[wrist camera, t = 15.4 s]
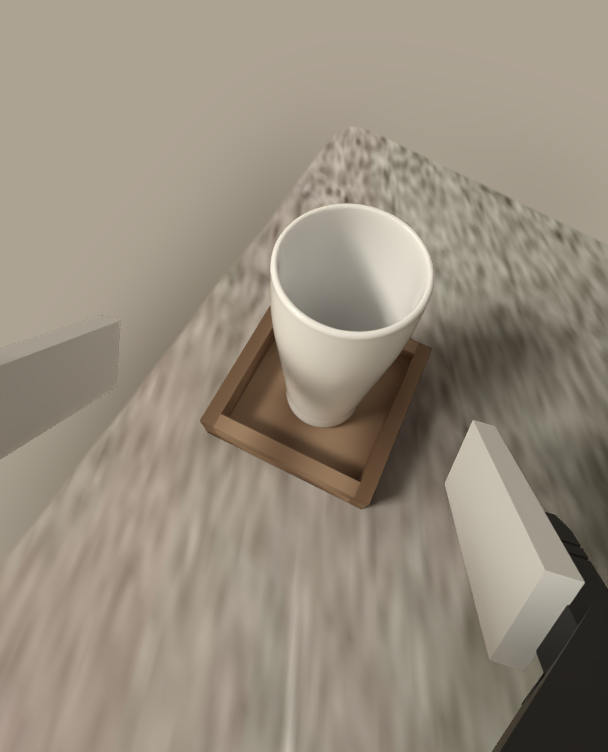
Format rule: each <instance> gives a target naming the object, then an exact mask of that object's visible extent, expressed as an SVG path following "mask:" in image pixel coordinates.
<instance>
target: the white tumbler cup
mask: <svg viewBox="0 0 608 752" xmlns="http://www.w3.org/2000/svg"><path fill="white" fill-rule="evenodd" d="M270 270H271V271H270V304H271V318H272V325H273V331H274V336H275V341H276V345H277V350H278V354H279V358H280V362H281V366H282V371H283V375H284V380H285V384H286V396H287V401H288V404H289V406H290V408H291V410H292V411H293V413H294V414H295V415H296V416H297V417H298V418H299V419H300V420H302V421H303V422H305V423H307V424H309V425H311V426H315V427H321V428H328V427H333V426H337V425H339V424H341V423H343V422H345V421H346V420H348V419H349V418H350V417H351V416H352V415H353V413H354V412H355V411H356V409H357V407H358V405H359V404H360V402H361V401H362V400H363V399H364V397H365V396H366V395H367V394H368V392H369V391H370V390H371V389H372V388H373V386H374V385H375V384H376V383H377V382H378V381H379V379H380V378H381V377H382V376H383V375H384V373H385V372H386V371H387V370H388V369H389V368H390V366H391V365H392V364H393V363H394V361H395V360H396V359H397V357H398V356H399V355H400V353H401V352H402V350H403V349H404V347H405V346H406V344H407V342H408V341H409V339H410V337H411V336H412V334H413V332H414V330H415V328H416V326H417V325H418V323H419V321H420V319H421V317H422V314H423V312H424V310H425V308H426V306H427V304H428V302H429V300H430V297H431V295H432V291H433V287H434V266H433V262H432V258H431V255H430V253H429V251H428V249H427V247H426V245H425V243H424V242H423V240H422V239H421V238H420V236H419V235H418V234H417V233H416V232H415V231H414V230H413V229H412V228H411V227H410V226H409V225H407V224H406V223H405V222H404V221H402V220H401V219H399V218H398V217H396V216H394V215H392V214H390V213H388V212H386V211H383V210H381V209H378V208H375V207H371V206H366V205H361V204H349V203H345V204H332V205H327V206H323V207H319V208H316V209H313V210H311V211H309V212H307V213H305V214H303V215H301V216H300V217H298V218H297V219H295V220H294V221H293V222H292V223H290V224H289V225H288V226H287V227H286V228H285V230H284V231H283V232H282V233H281V235H280V236H279V238H278V240H277V242H276V244H275V246H274V249H273V252H272V256H271V265H270Z"/></svg>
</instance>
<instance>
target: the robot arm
mask: <svg viewBox="0 0 608 752" xmlns="http://www.w3.org/2000/svg"><path fill="white" fill-rule="evenodd" d="M120 322H121V321H120V320H117V319H113V318H110V317H106V316H103V315H100V316H97V317H94V318H91V319H88V320H85V321H82V322H79V323H76V324H73V325H70V326H67V327H64V328H61V329H58V330H55V331H52V332H49V333H46V334H43V335H40V336H36V337H33V338H31V339H27V340H24V341H21V342H18V343H15V344H12V345H9V346H6V347H3V348H0V459H2V458H3V457H5V456H7V455H8V454H10V453H11V452H13V451H14V450H16V449H18V448H19V447H21V446H23V445H24V444H26V443H27V442H29V441H30V440H32V439H34V438H35V437H37V436H39V435H40V434H42V433H43V432H45V431H47V430H48V429H50V428H52V427H53V426H55V425H56V424H58V423H60V422H61V421H63V420H64V419H66V418H67V417H69V416H71V415H72V414H74V413H76V412H77V411H79V410H80V409H82V408H84V407H85V406H87V405H88V404H90V403H92V402H93V401H95V400H96V399H98V398H100V397H101V396H103V395H105V394H106V393H108V392H109V391H111V390H112V389H114V388H116V387H117V372H118V355H119V339H120ZM445 487H446V491H447V495H448V499H449V503H450V507H451V511H452V515H453V519H454V523H455V527H456V531H457V534H458V538H459V542H460V546H461V550H462V554H463V558H464V562H465V566H466V570H467V574H468V578H469V582H470V586H471V590H472V594H473V597H474V601H475V605H476V609H477V613H478V617H479V621H480V625H481V629H482V633H483V637H484V641H485V645H486V649H487V653H488V657H489V660H490V661H493V662H496V663H499V664H502V665H505V666H508V667H511V668H514V669H517V670H520V671H523V672H524V671H525V670H526V668H527V667H528V665H529V664H530V662H531V661H532V660H533V658H534V657H535V655H536V654H537V655H538V658H539V661H540V663H541V666H542V669H543V672H544V673H543V675H542V676H541V677H540V679H539V680H538V682H537V683H536V684H535V686H534V687H533V689H532V690H531V691H530V693H529V694H528V696H527V697H526V698H525V700H524V701H523V703H522V706H521V708H520V709H519V711H518V712H517V714H516V715H515V717H514V719H513V720H512V722H511V723H510V725H509V726H508V728H507V729H506V731H505V732H504V734H503V736H502V737H501V739H500V740H499V742H498V743H497V745H496V746H495V748H494V749H493V751H492V752H608V589H607V587H606V586H605V584H604V582H603V581H602V579H601V578H600V576H599V574H598V573H597V571H596V570H595V568H594V566H593V565H592V563H591V562H590V561H588V557H587V555H586V554H585V552H584V550H583V549H582V548H580V544H579V542H578V541H577V539H576V538H575V536H574V534H573V533H572V531H571V530H570V529H569V528H568V527H567V526H566V525H565V524H564V523H563V522H562V521H561V520H560V519H559V518H558V517H557V516H556V515H554V514H550V513H547V512H544V510H543V509H542V507H541V505H540V503H539V502H538V500H537V498H536V496H535V495H534V493H533V491H532V490H531V488H530V486H529V484H528V483H527V481H526V479H525V477H524V476H523V474H522V472H521V470H520V469H519V467H518V465H517V463H516V462H515V460H514V458H513V457H512V455H511V453H510V451H509V450H508V448H507V446H506V444H505V443H504V441H503V439H502V437H501V436H500V434H499V432H498V430H497V429H496V427H495V426H493V425H489V424H486V423H482V422H479V421H475V420H473V421H472V423H471V425H470V428H469V430H468V432H467V434H466V437H465V439H464V441H463V443H462V446H461V448H460V450H459V452H458V455H457V457H456V459H455V461H454V464H453V466H452V468H451V471H450V473H449V475H448V477H447V480H446V482H445Z"/></svg>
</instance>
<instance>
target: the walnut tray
mask: <svg viewBox="0 0 608 752" xmlns="http://www.w3.org/2000/svg"><path fill="white" fill-rule="evenodd" d="M431 350H432V348H430V347H427V346H425V345H423V344H421V343H418V342H416V341H414V340H411V339H409V341H408V342H407V344H406V346H405V347H404V349H403V350H402V352H401V353H400V355H399V356H398V357H397V359H396V360H395V361H394V363H393V364H392V365H391V366H390V368H389V369H388V370H387V371H386V372H385V373H384V375H383V376H382V377H381V378H380V379H379V381H378V382H377V383H376V384H375V385H374V386H373V388H372V389H371V390H370V391H369V392H368V394H367V395H366V396H365V397H364V399H363V400H362V401H361V402H360V404H359V405H358V407H357V409H356V411H355V412H354V413H353V415H352V416H351V417H350V418H349V419H348V420H346V421H345V422H343V423H341V424H339V425H337V426H333V427H328V428H321V427H315V426H311V425H309V424H307V423H305V422H303V421H302V420H300V419H299V418H298V417H297V416H296V415H295V414H294V413H293V411H292V410H291V408H290V406H289V404H288V401H287V396H286V384H285V380H284V375H283V371H282V366H281V362H280V358H279V354H278V350H277V345H276V341H275V336H274V331H273V325H272V318H271V305H270V307H269V308H268V310H267V312H266V313H265V315H264V317H263V318H262V320H261V321H260V323H259V325H258V326H257V328H256V330H255V331H254V333H253V334H252V336H251V338H250V339H249V341H248V343H247V344H246V346H245V348H244V349H243V351H242V352H241V354H240V356H239V357H238V359H237V361H236V362H235V364H234V366H233V367H232V369H231V370H230V372H229V374H228V375H227V377H226V379H225V380H224V382H223V383H222V385H221V387H220V388H219V390H218V392H217V393H216V395H215V397H214V398H213V400H212V401H211V403H210V405H209V406H208V408H207V410H206V411H205V413H204V415H203V416H202V418H201V419H200V422H201V423H202V425H203V426H204V428H205V429H206V431H207V432H208V433H210V434H212V435H214V436H216V437H218V438H220V439H222V440H224V441H226V442H228V443H230V444H232V445H234V446H236V447H238V448H240V449H242V450H244V451H246V452H248V453H250V454H252V455H254V456H256V457H258V458H260V459H262V460H264V461H266V462H268V463H270V464H272V465H274V466H276V467H278V468H280V469H282V470H284V471H286V472H288V473H290V474H292V475H294V476H296V477H298V478H300V479H302V480H304V481H306V482H308V483H310V484H312V485H314V486H316V487H318V488H320V489H322V490H324V491H326V492H328V493H330V494H332V495H334V496H336V497H338V498H340V499H342V500H344V501H346V502H348V503H350V504H352V505H354V506H356V507H358V508H360V509H362V508H364V507H366V506H368V505H369V504H370V502H371V499H372V497H373V494H374V492H375V489H376V487H377V484H378V482H379V479H380V477H381V474H382V472H383V469H384V467H385V464H386V462H387V459H388V457H389V454H390V452H391V449H392V447H393V444H394V442H395V439H396V437H397V434H398V432H399V429H400V427H401V424H402V422H403V419H404V417H405V414H406V412H407V409H408V407H409V405H410V402H411V400H412V397H413V395H414V392H415V390H416V387H417V385H418V382H419V380H420V377H421V375H422V372H423V370H424V367H425V365H426V362H427V360H428V357H429V355H430V352H431Z"/></svg>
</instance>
